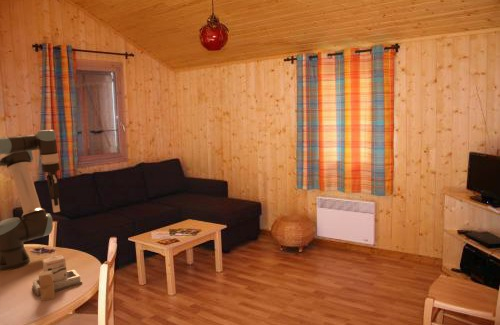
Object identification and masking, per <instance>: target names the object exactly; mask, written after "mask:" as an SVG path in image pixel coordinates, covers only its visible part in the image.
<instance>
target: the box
mask: <svg viewBox="0 0 500 325" xmlns="http://www.w3.org/2000/svg"><path fill="white" fill-rule="evenodd" d="M38 279H39V284H40V293H41V296H40V299H41V300H40V301H41V302H44V301H49V300H54V299H55V298H56V294H55V293H56V292H54V283H53V273H52V270H51V271H45V272H44V271H42V272H41V271H40V272H38Z"/></svg>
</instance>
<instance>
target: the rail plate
mask: <svg viewBox="0 0 500 325" xmlns="http://www.w3.org/2000/svg"><path fill="white" fill-rule="evenodd" d="M53 283H54V292H55V293H56V292H59V291H62V290H66V289H69V288H73V287H77V286H80V285H82V284H83V281H82V280H81V276H80V274H79V273H78V272H77V271H76V270H75V269H71V270H67V279H64V280H60V281H57V282H53ZM31 287H32V289H33V291H34V292H35V295H36V296H37V297H38V298H41V293H40V284H39V278H38V279H34V280H32V286H31Z"/></svg>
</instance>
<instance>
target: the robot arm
mask: <svg viewBox="0 0 500 325" xmlns="http://www.w3.org/2000/svg"><path fill="white" fill-rule="evenodd" d="M57 144H58V143H57V135H56V131H55V130H54V129H43V130H38V131H37V133H34V134H25V135H16V136H15V135H14V136H2V137H0V167H6V169H7V170H8V171H10V172H11V174H12V177H13V181H14V185H15V188H16V191H17V195H18V198H19V202H20V205H21V209H22V212H23V213H22V215H21V216H20V217H21V218H20V217H17V216H16V217H15V216H14V217H11V218H10V217H9V218H6V219H3V220H1V221H0V271H9V270H14V269H19V268H21V267H24V266H26V265H28V264H29V263H30V262H31V259H30V255H29V253H28V251H27V249H26V248H25V246H24V242H28V241H31V240H36V239H39V238H44V237H45V236H49V235H50V234H51V233H52V231H53V228H54V227H53V226H54V225H53V224H54V223H53V217H52V215H51V213H48V212H46V209H44V208H42V206H41V204H40V203H41V202H40V200H39V196H38V193H37V190H36V187H35V183H34V180H33V176H32V173H31V170H30V167H31V165H32V162H33V161H34V156H33V152H32V151H39V155H40V157H38V158H39V160H40V162H41V171H42V173H47V175H46V177H45V178H46V180H47V186H48V191H49V197H50V200H51V204H52V205H51V206H52V212H53V213H59V212H61V208H60V200H59V198H60V190H59V188H60V187H59V178H58V175H57V173H56V172H58V171H59V172H60V170H61V167H60V163H59V162H60V161H59V158H60V156H59V153H58V145H57Z"/></svg>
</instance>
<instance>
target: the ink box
mask: <svg viewBox="0 0 500 325" xmlns="http://www.w3.org/2000/svg"><path fill="white" fill-rule="evenodd" d="M66 264H67V262H66V258H65V256H64V255H62V254H59V255H57V256H52V257H48V258H44V259H42V268H43V272H45V271H51V270H52V273H53V282H57V281H60V280H64V279H67V271H68V270H67V266H66Z"/></svg>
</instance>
